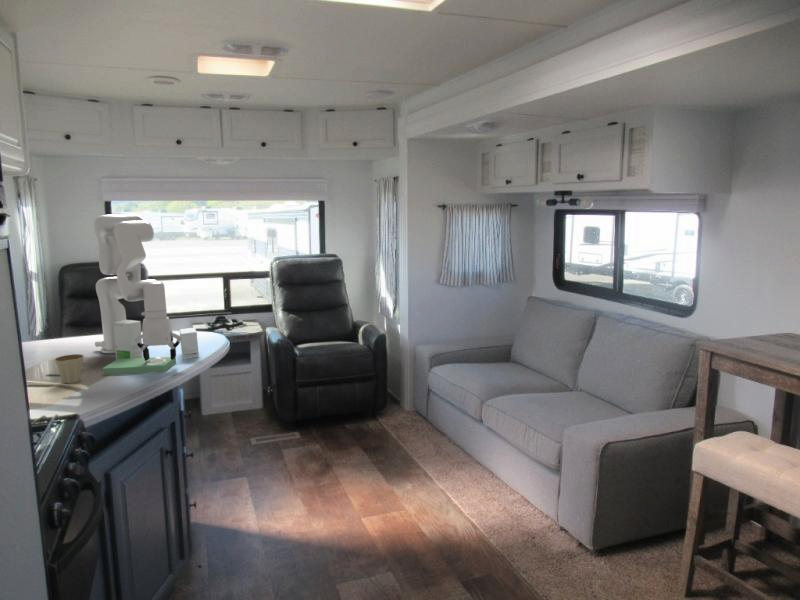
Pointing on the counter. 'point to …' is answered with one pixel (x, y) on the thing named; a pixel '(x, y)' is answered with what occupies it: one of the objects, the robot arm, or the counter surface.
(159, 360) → the ball
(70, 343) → the counter surface
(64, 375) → the flower pot
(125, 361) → the putting mat
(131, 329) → the skincare box
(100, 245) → the robot arm
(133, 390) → the counter surface
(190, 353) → the skincare box
